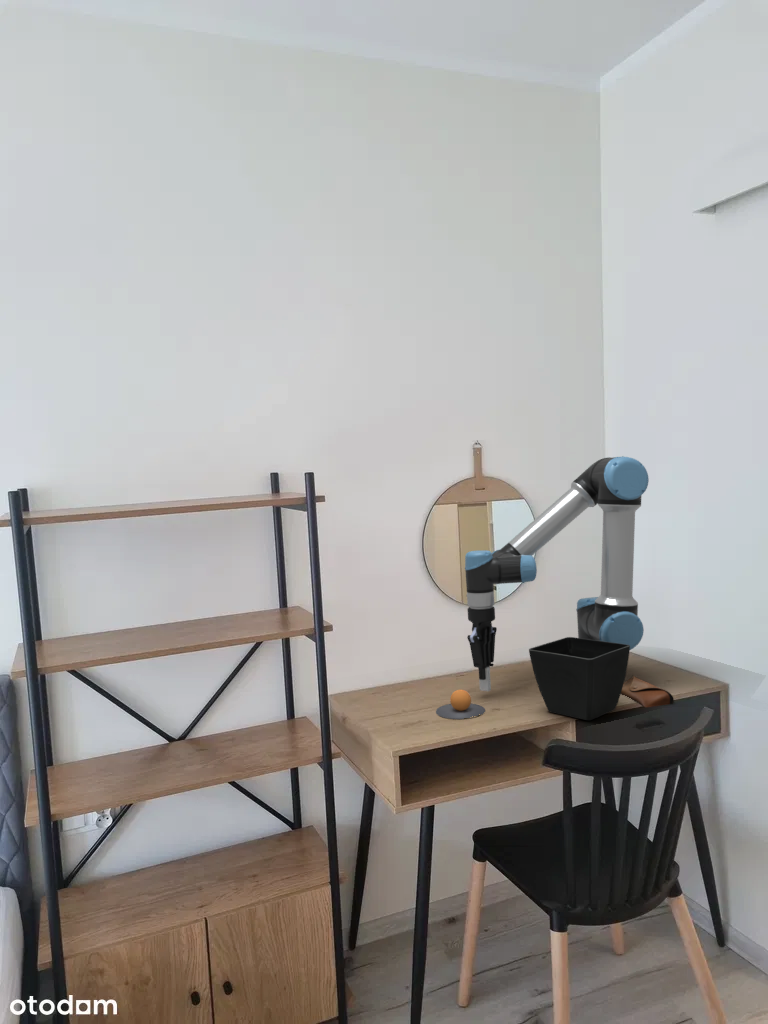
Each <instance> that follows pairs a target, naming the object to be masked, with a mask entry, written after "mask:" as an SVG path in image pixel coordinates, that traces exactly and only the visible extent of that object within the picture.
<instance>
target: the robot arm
mask: <svg viewBox="0 0 768 1024" xmlns="http://www.w3.org/2000/svg"><path fill="white" fill-rule="evenodd" d="M649 479H650V478H649V474H648V471H647V469H646V466H645V465H643V463H641V462H640V461H639V460H638V459H636V458H633V457H628V456H624V455H622V456H615V457H614V456H613V457H604V458H601V459H599V460H596V461H595V462H593V463H592V464H591V465H589V466H588V467H587V468H586V469H584V471H583V472H581V474H580V475H579V476H578V477H577V478H575V479H574V480H573V481H572V482H571V483H570V488H569V489H568V490H567V491H566V492H564V493H563V494H562V495H561V496H560V497H559V498H557V499H556V500H555V501H554V502H553V503H552V504H551V505H550V506H549V507H547V508H546V509H545V510H544V511H542V513H541V514H540V515H538V516H537V517H536V518H535V519H533V521H532V522H530V523H529V524H528V525H527V526H526V527H524V528H523V529H522V530H521V531H520V532H519V533H518V534H517V535H515V536H514V537H513V538H512V539H511V540H510V541H508V542H507V543H506V544H505V545H504V546H502V548H500V549H497V550H494V551H490V550H486V549H483V550H471V551H468V552H467V553H466V554H465V559H464V560H465V561H464V562H465V564H464V565H465V566H464V571H465V583H466V596H465V597H466V601H467V602H466V603H467V606H468V608H467V619H468V620H467V621H469V622H471V623H472V626H471V631H472V632H471V634H467V638H466V639H467V641H468V643H469V647H470V653H471V659H472V663H473V667H474V668H478V680H479V681H478V683H479V684H478V685H479V690H480V691H483V692H490V691H491V689H492V688H491V687H492V684H491V670H490V669H491V667H493V666H494V661H495V649H496V648H495V647H496V645H495V644H496V634H497V627H495V626H493V623H492V622H493V621H495V620H496V609H495V606H494V605H495V594H494V593H495V591H494V589H495V588H494V587H495V586H494V585H500V584H501V585H502V584H504V585H505V584H517V583H518V584H519V583H523V584H525V583H530V582H533V581H535V580H536V578H537V572H538V571H537V563H536V562H537V561H536V560H535V558H534V555H535V554H536V553H537V552H538V551H539V550H541V549H542V548H543V547H544V546H545V545H546V544H547V543H549V542H550V541H551V540H552V539H553V538H554V537H555V536H557V535H558V534H559V533H561V531H562V530H564V529H565V528H566V527H567V526H568V525H570V524H571V523H572V522H573V521H574V520H575V519H577V517H578V516H580V515H581V514H582V513H583V512H584V511H586V510H587V509H588V508H594V507H595V506H596V505H598V506H599V508H600V509H602V540H601V541H602V544H601V545H602V546H601V547H602V548H601V573H600V575H601V576H600V579H601V580H600V595H599V596H593V597H585V598H584V597H583V598H582V597H581V598H579V599H578V600H577V602H576V616H577V617H576V619H577V634H578V635H577V638H583V639H590V640H598V641H605V642H613V643H620V644H627V645H630V651H631V650H633V649H634V648H635V647H637V646H638V645H639V644H640V643H641V640H642V639H643V636H644V624H643V622H642V620H641V619H640V617H639V616H638V611H639V603H638V601H637V600H636V599H635V598H634V597H633V591H634V589H633V588H634V587H633V586H634V584H633V583H634V560H635V559H634V556H635V555H634V554H635V529H636V528H635V527H636V526H635V525H636V524H635V523H636V512H637V510H638V509H640V507H642V495H644V494H645V492H646V491H647V489H648V485H649Z"/></svg>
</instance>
